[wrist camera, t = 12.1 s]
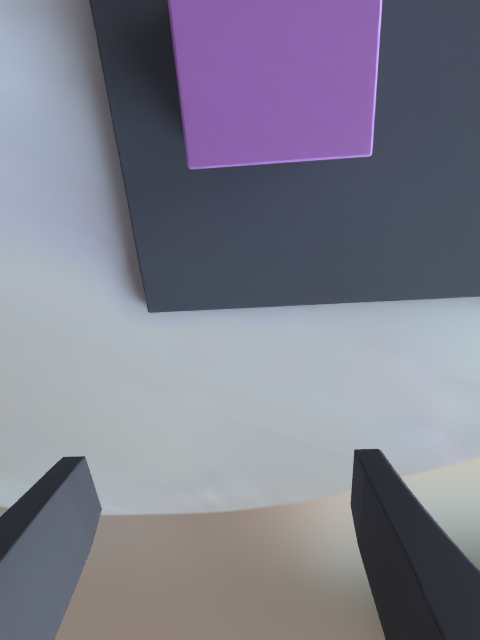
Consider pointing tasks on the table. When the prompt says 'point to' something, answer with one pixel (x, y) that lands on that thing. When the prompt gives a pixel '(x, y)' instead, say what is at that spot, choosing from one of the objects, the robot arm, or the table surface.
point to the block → (275, 79)
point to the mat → (306, 177)
